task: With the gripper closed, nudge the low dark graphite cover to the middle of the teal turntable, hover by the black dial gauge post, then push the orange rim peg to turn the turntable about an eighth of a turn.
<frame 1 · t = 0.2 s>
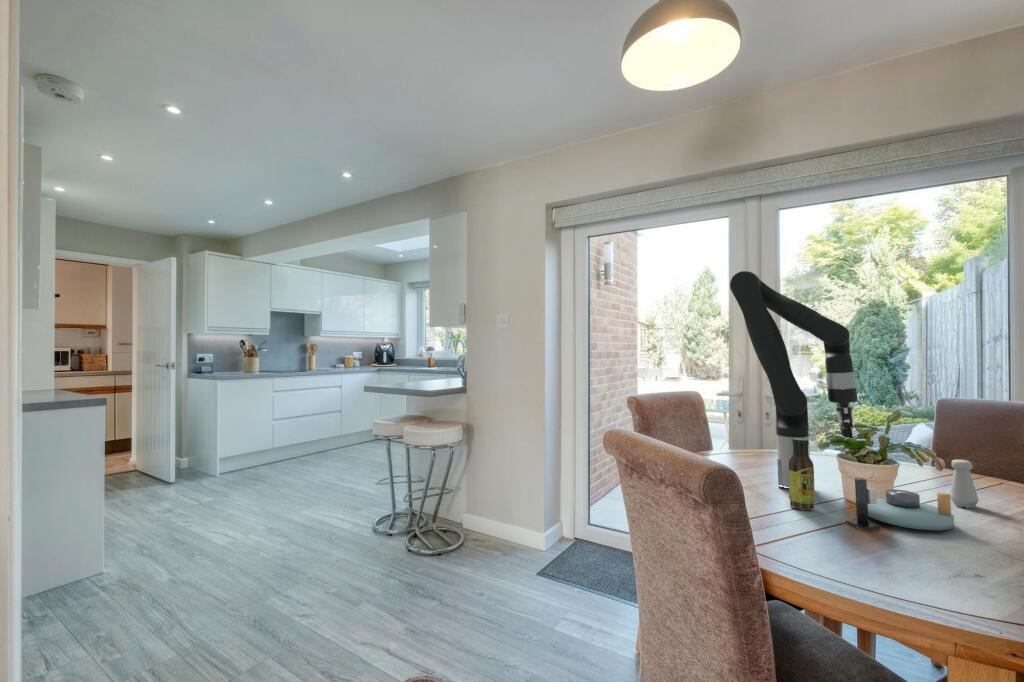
hand: (847, 438, 142), 17 cm above the table, tool pointing down, fingers open, 8 cm apart
dial gauge post: (863, 526, 116), on the table
salt shaker: (964, 507, 128), on the table
turntable: (905, 503, 119), point 5 cm above the table, hinge at 0.0°, touching cover
cover: (902, 504, 122), point 3 cm above the table, touching turntable
sauce bottle: (802, 508, 131), on the table
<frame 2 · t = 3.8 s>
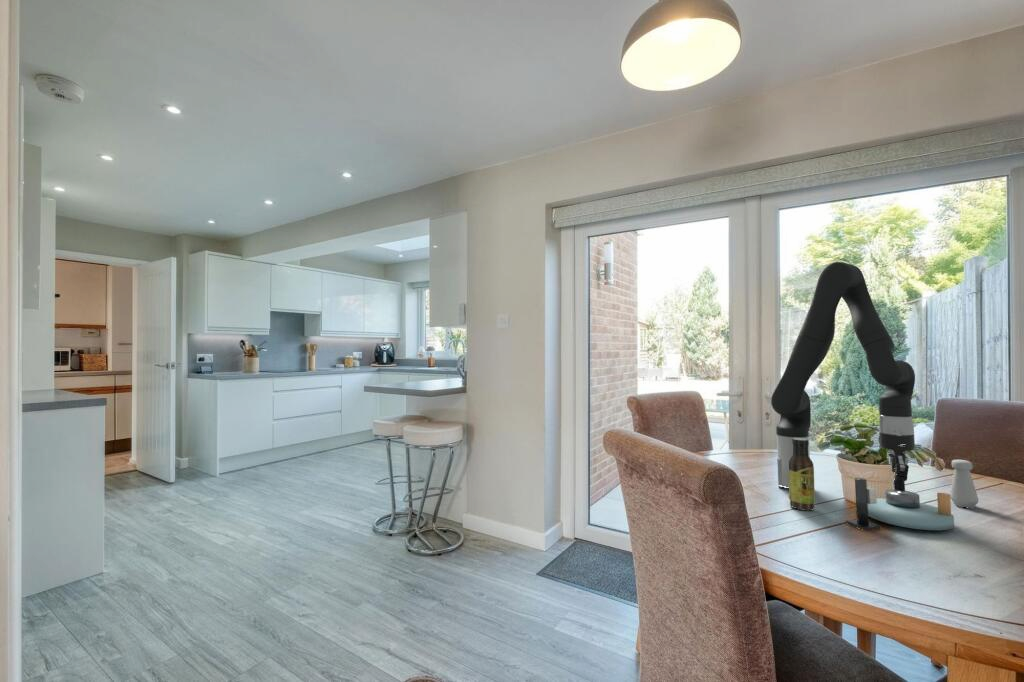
hand: (899, 493, 126), 5 cm above the table, tool pointing down, fingers closed
cover: (902, 504, 122), point 3 cm above the table, touching gripper, turntable
everything else where it was.
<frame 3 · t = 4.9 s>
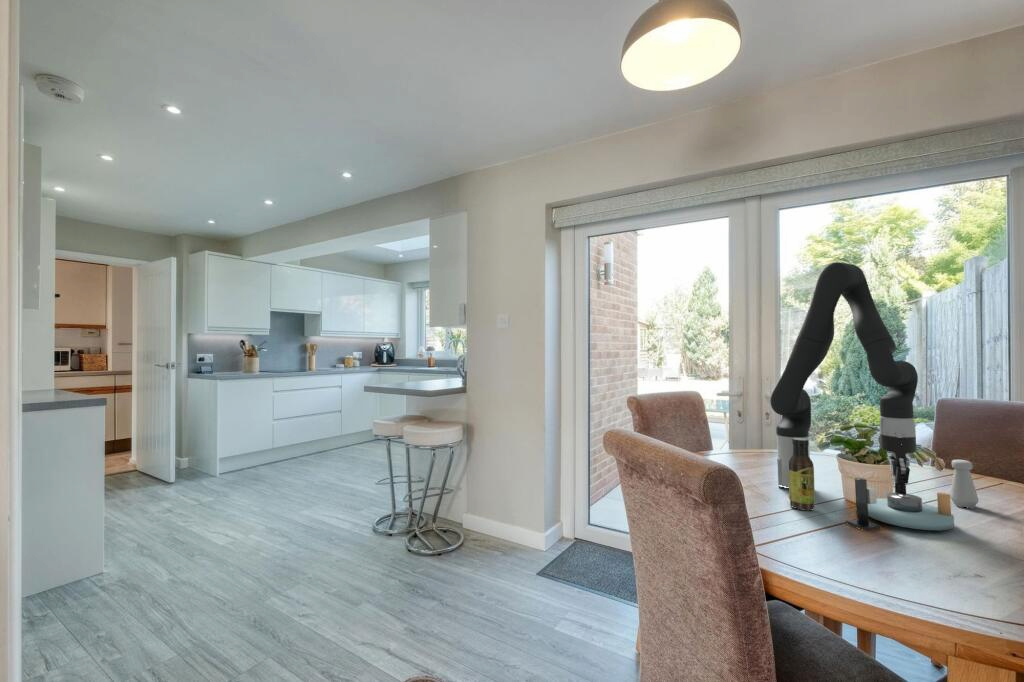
hand: (900, 496, 124), 5 cm above the table, tool pointing down, fingers closed
turntable: (905, 503, 119), point 5 cm above the table, hinge at 0.8°, touching cover
cover: (904, 507, 120), point 3 cm above the table, touching gripper, turntable
everything else where it was.
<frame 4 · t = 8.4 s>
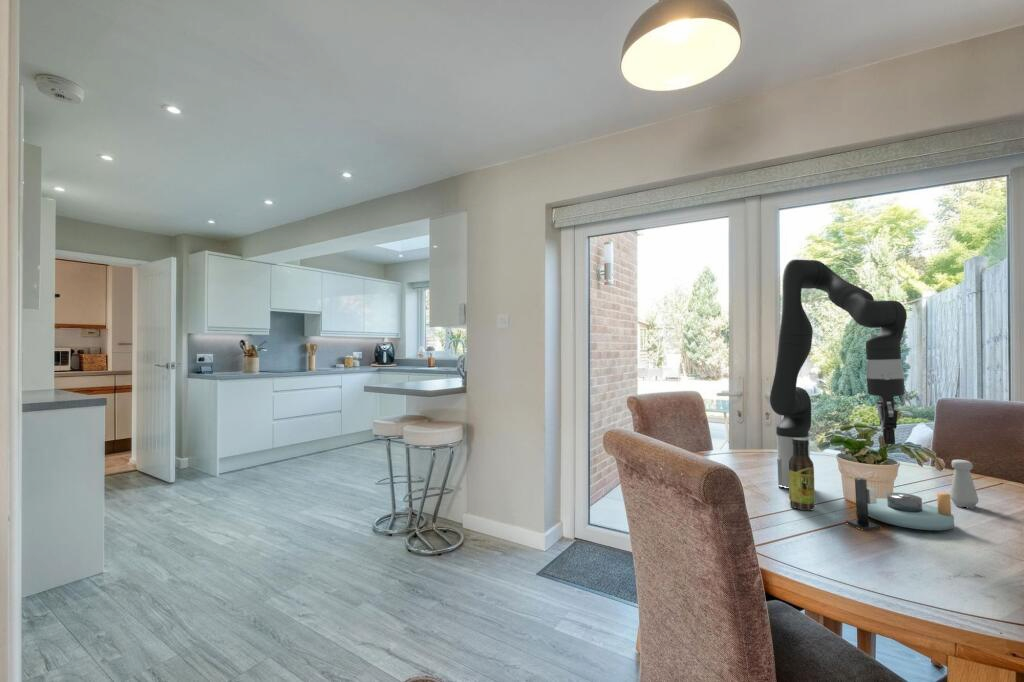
hand: (889, 443, 117), 21 cm above the table, tool pointing down, fingers closed
cover: (904, 507, 120), point 3 cm above the table, touching turntable
everything else where it was.
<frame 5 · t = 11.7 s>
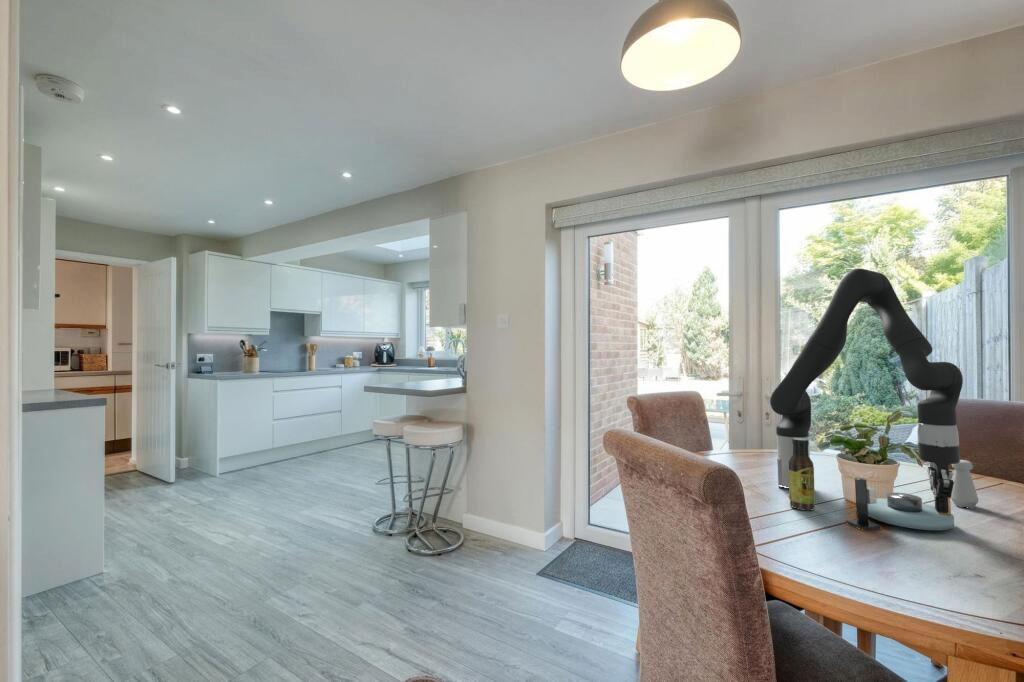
hand: (941, 511, 112), 5 cm above the table, tool pointing down, fingers closed
turntable: (905, 503, 119), point 5 cm above the table, hinge at 1.3°, touching cover, gripper
everything else where it was.
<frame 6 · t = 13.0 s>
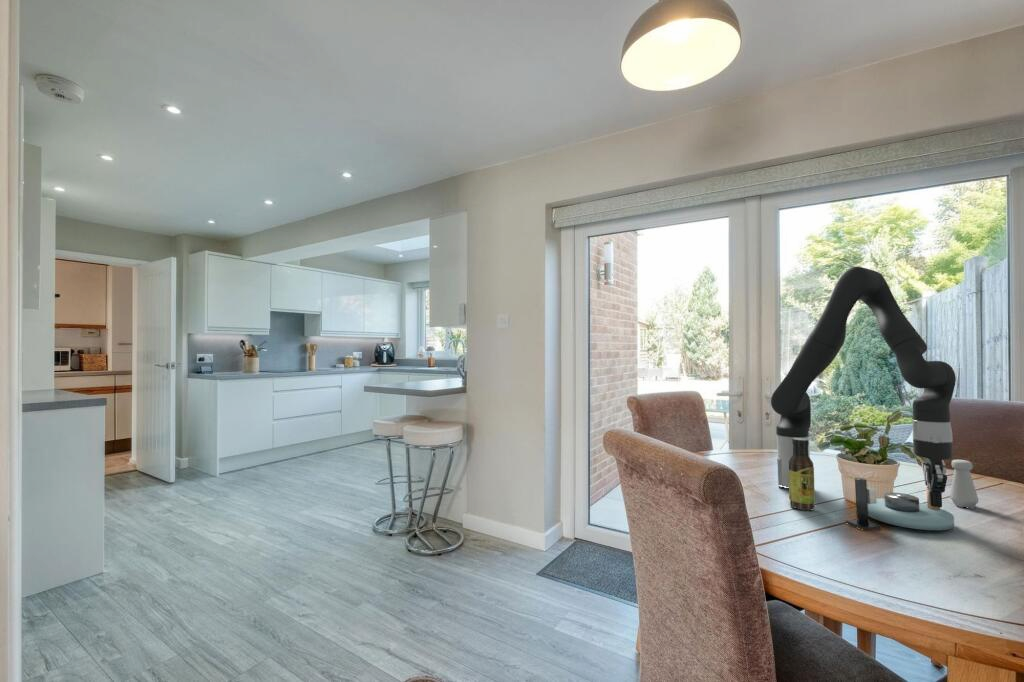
hand: (935, 506, 116), 5 cm above the table, tool pointing down, fingers closed
turntable: (905, 503, 119), point 5 cm above the table, hinge at 34.0°, touching cover, gripper
everything else where it was.
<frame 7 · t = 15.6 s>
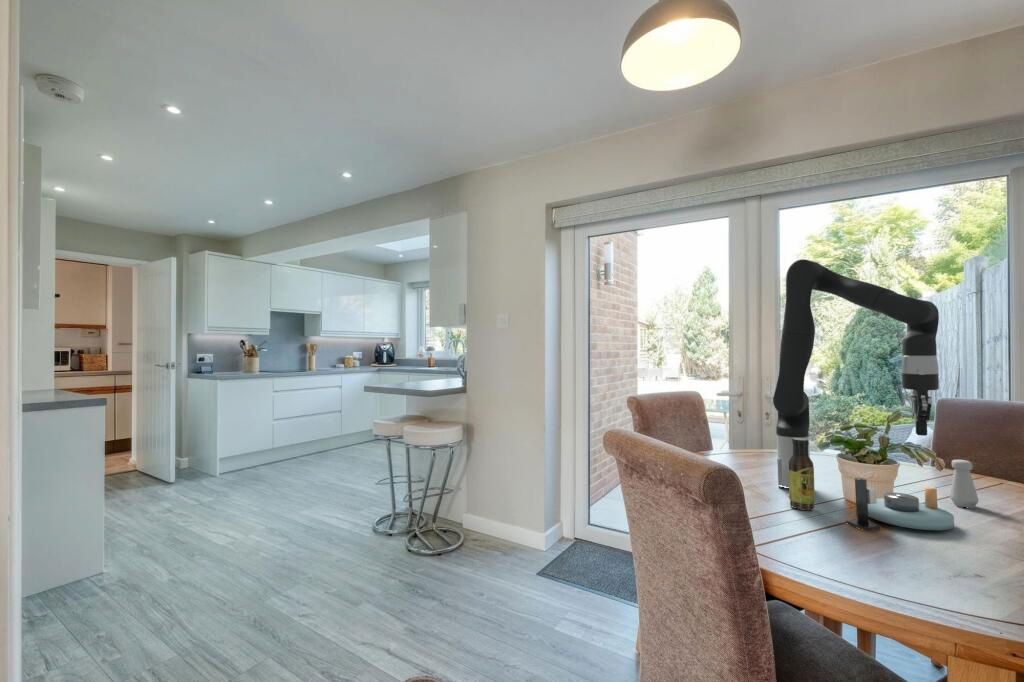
hand: (921, 435, 124), 21 cm above the table, tool pointing down, fingers closed
turntable: (905, 503, 119), point 5 cm above the table, hinge at 38.6°, touching cover
everything else where it was.
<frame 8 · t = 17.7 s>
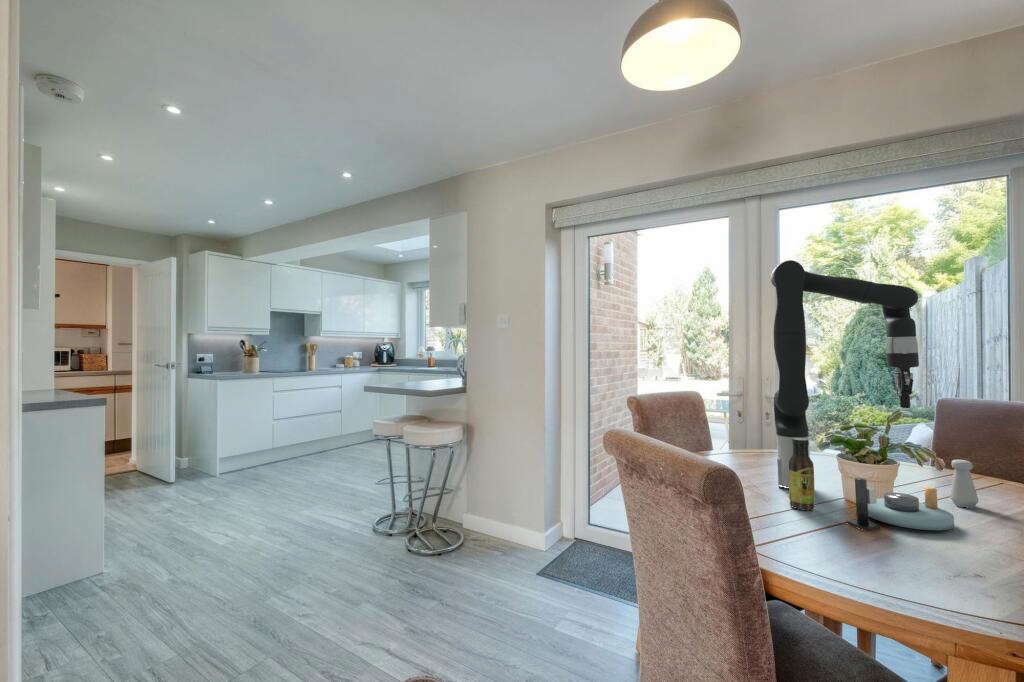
hand: (905, 407, 139), 27 cm above the table, tool pointing down, fingers closed
nothing on the table moved.
at the end: cover 1.1 cm from the turntable (horizontally); turntable at +39° (first picture: +0°); cover tilted 0° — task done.
